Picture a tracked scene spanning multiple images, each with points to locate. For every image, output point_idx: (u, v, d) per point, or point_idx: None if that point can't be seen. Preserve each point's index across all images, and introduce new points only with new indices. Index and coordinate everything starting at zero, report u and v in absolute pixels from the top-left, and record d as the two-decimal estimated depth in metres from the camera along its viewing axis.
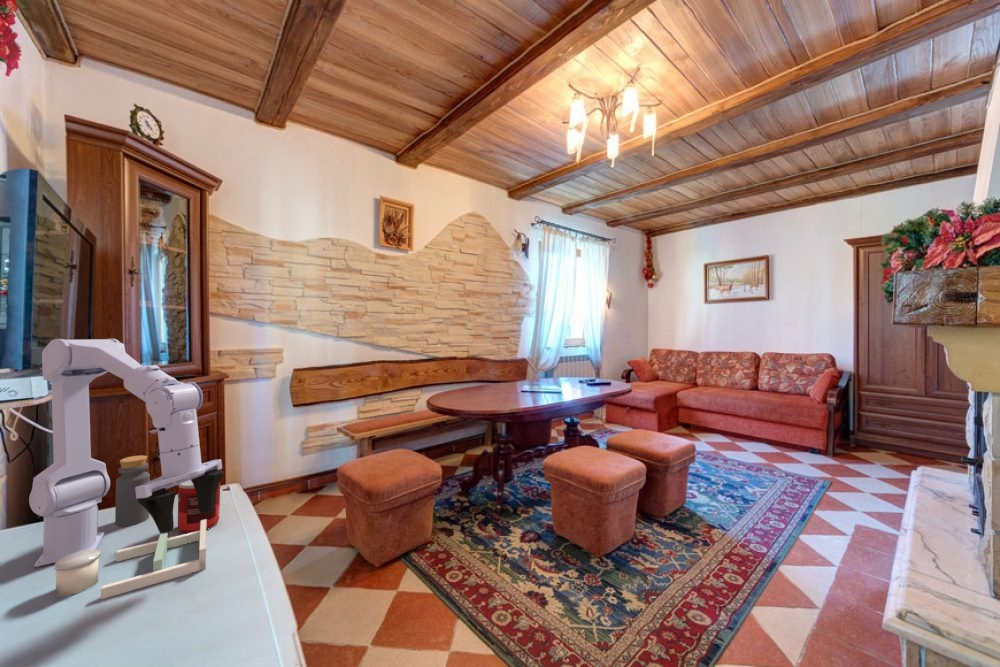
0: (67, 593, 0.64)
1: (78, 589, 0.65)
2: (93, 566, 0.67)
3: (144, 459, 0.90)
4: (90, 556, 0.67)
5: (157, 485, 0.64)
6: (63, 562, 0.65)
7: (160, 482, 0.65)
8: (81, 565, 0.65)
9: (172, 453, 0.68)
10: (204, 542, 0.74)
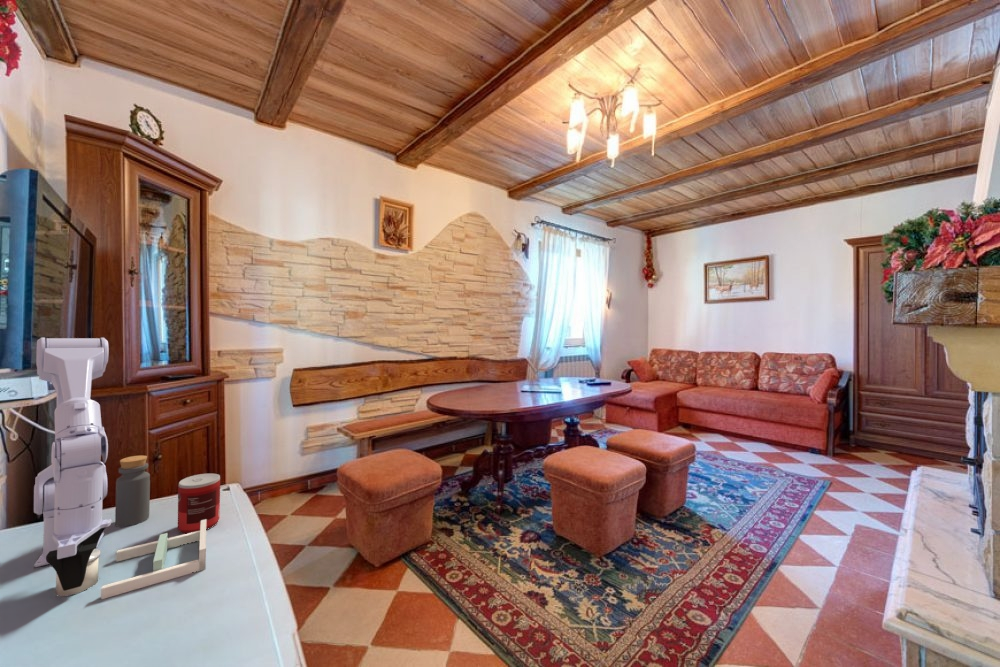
0: (67, 593, 0.64)
1: (78, 589, 0.65)
2: (93, 566, 0.67)
3: (144, 459, 0.90)
4: (90, 556, 0.67)
5: (80, 541, 0.63)
6: None
7: (82, 538, 0.64)
8: None
9: (86, 507, 0.66)
10: (204, 542, 0.74)
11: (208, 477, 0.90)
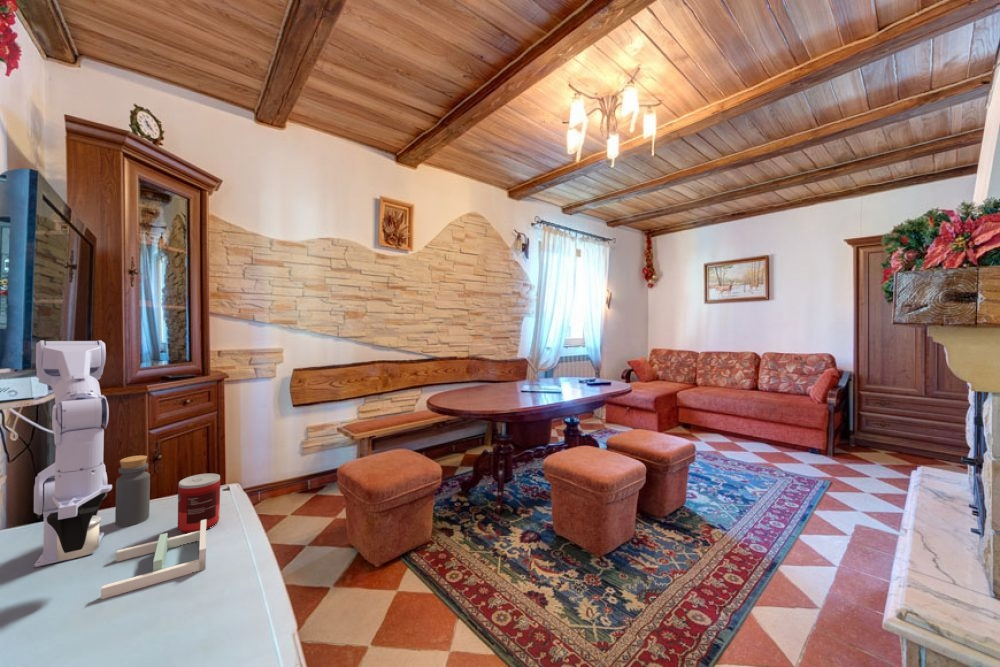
0: (68, 556, 0.64)
1: (79, 553, 0.65)
2: (94, 531, 0.67)
3: (144, 459, 0.90)
4: (91, 521, 0.67)
5: (81, 503, 0.63)
6: None
7: (83, 500, 0.64)
8: None
9: (86, 471, 0.66)
10: (204, 542, 0.74)
11: (208, 477, 0.90)
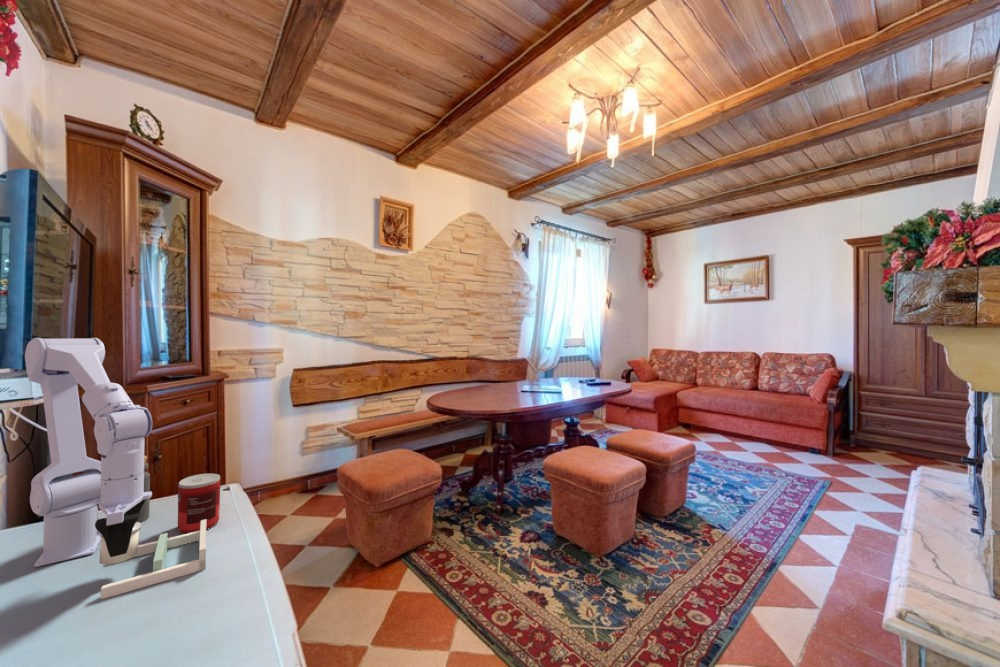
0: (110, 561, 0.68)
1: (120, 558, 0.68)
2: (135, 537, 0.70)
3: (144, 459, 0.90)
4: None
5: (126, 510, 0.67)
6: None
7: (128, 507, 0.67)
8: None
9: (130, 479, 0.69)
10: (204, 542, 0.74)
11: (208, 477, 0.90)
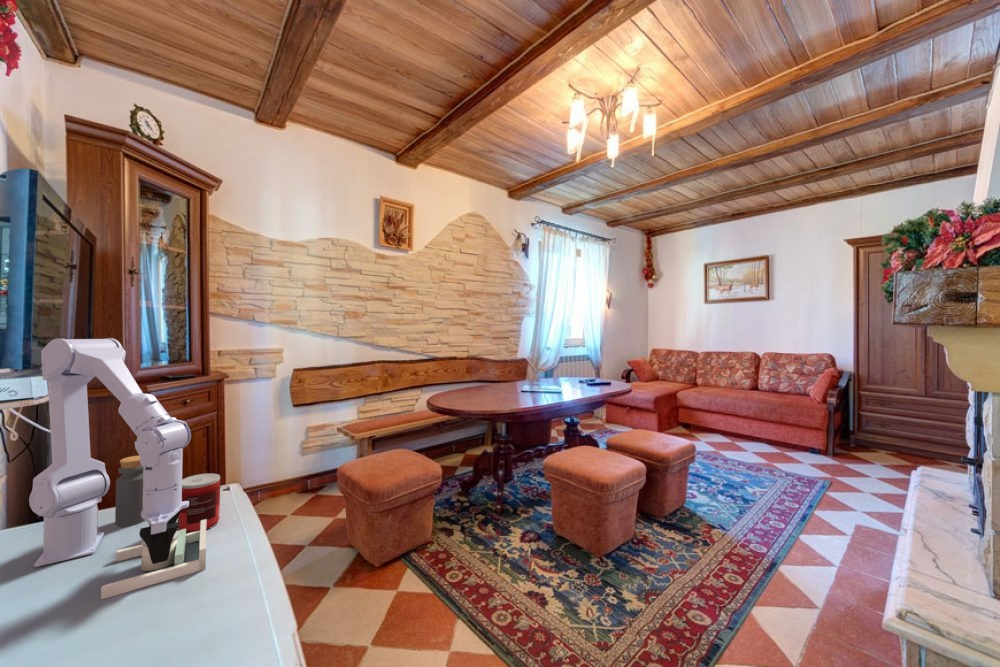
0: (152, 568, 0.71)
1: (161, 565, 0.72)
2: (173, 545, 0.74)
3: None
4: None
5: (168, 519, 0.70)
6: None
7: (169, 516, 0.70)
8: None
9: (170, 489, 0.72)
10: (204, 542, 0.74)
11: (208, 477, 0.90)
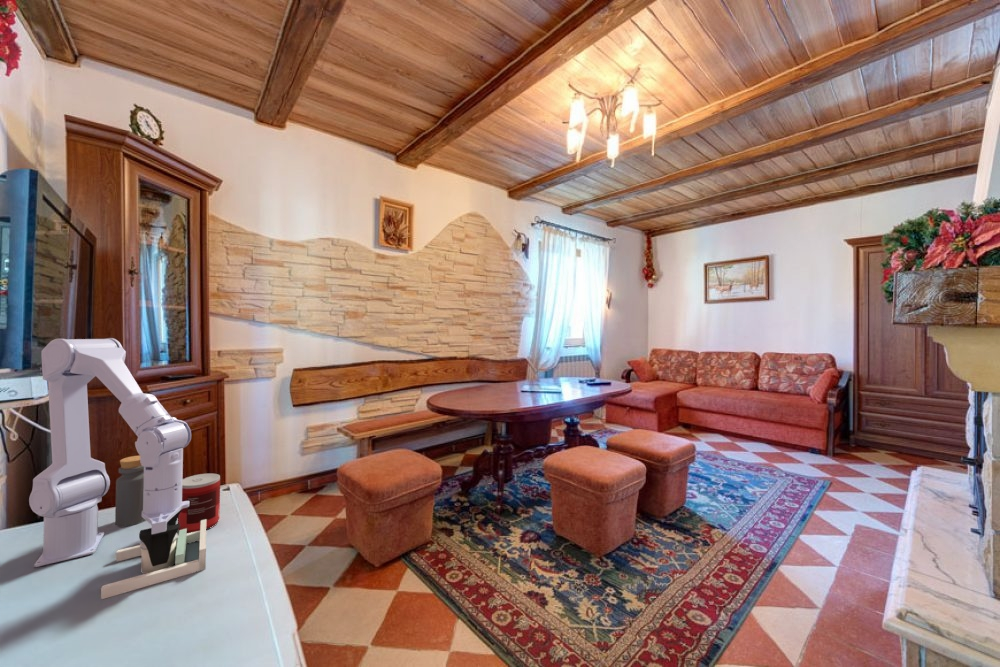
0: (152, 570, 0.71)
1: (161, 567, 0.72)
2: (173, 546, 0.74)
3: None
4: None
5: (169, 519, 0.70)
6: None
7: (170, 516, 0.71)
8: None
9: (171, 489, 0.72)
10: (204, 542, 0.74)
11: (208, 477, 0.90)
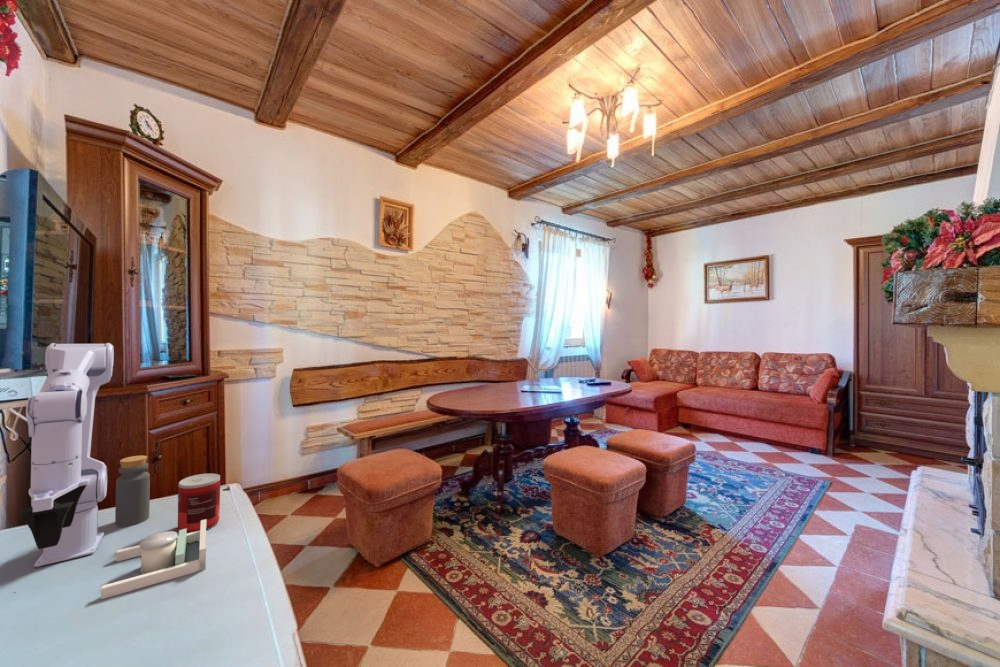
0: (152, 570, 0.71)
1: (161, 567, 0.72)
2: (172, 546, 0.74)
3: (144, 459, 0.90)
4: (170, 537, 0.74)
5: (57, 496, 0.62)
6: (147, 542, 0.72)
7: (59, 493, 0.63)
8: (163, 545, 0.72)
9: (63, 463, 0.65)
10: (204, 542, 0.74)
11: (208, 477, 0.90)
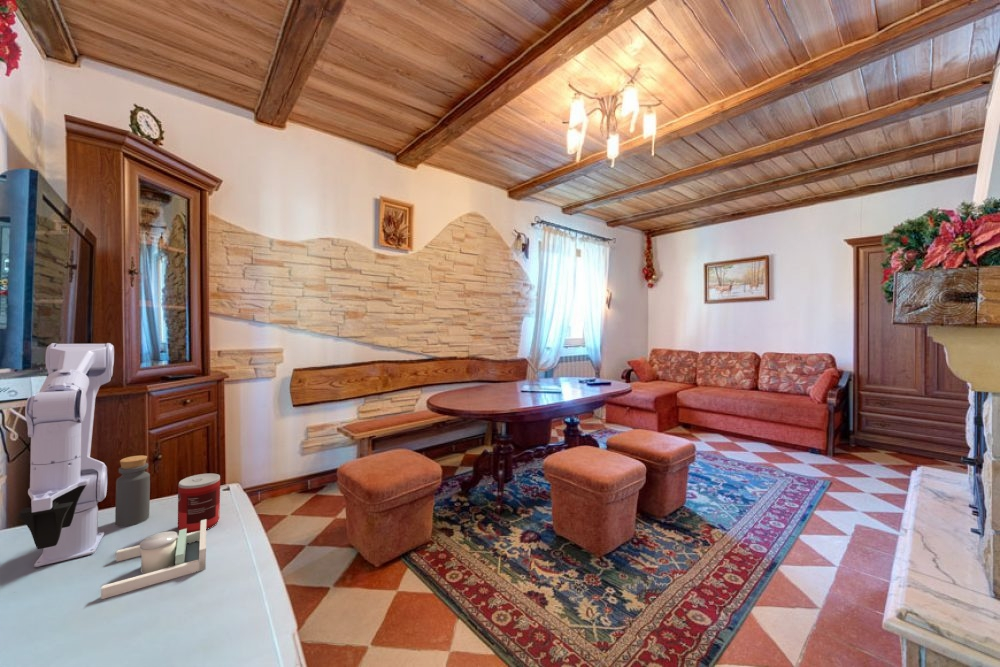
0: (152, 570, 0.71)
1: (161, 567, 0.72)
2: (172, 546, 0.74)
3: (144, 459, 0.90)
4: (170, 537, 0.74)
5: (56, 496, 0.62)
6: (147, 542, 0.72)
7: (58, 493, 0.63)
8: (163, 545, 0.72)
9: (63, 463, 0.65)
10: (204, 542, 0.74)
11: (208, 477, 0.90)
